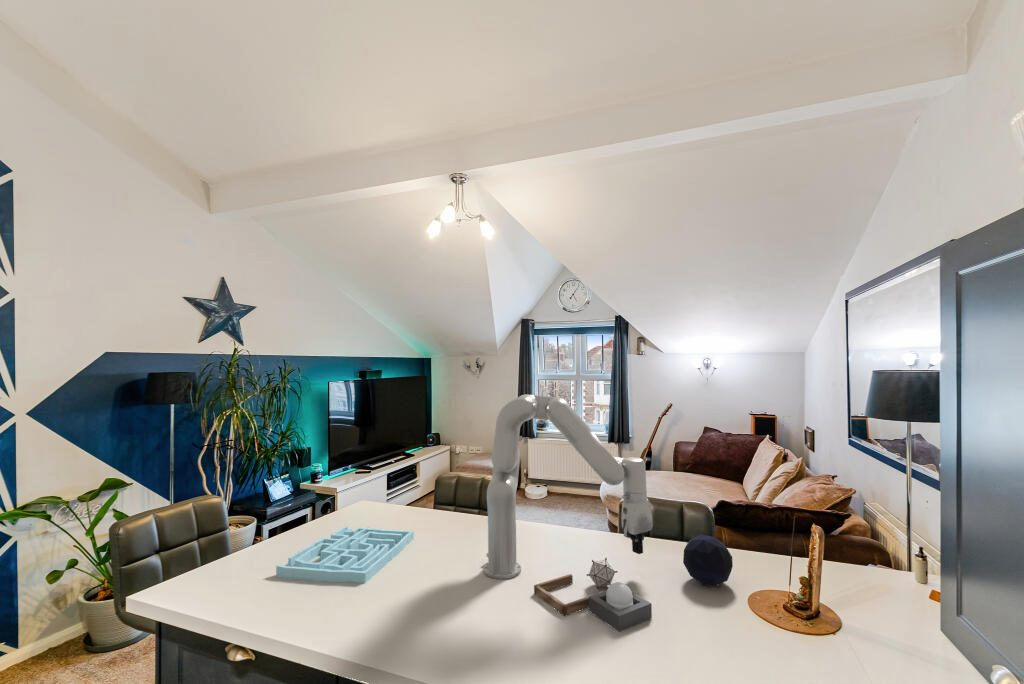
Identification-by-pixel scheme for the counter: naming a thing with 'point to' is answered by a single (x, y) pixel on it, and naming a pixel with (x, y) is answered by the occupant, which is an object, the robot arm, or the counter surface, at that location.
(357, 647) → the counter surface
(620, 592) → the dome
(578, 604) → the walnut bay
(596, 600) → the dome base
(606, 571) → the game die
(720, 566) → the decorative orb
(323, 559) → the maze
